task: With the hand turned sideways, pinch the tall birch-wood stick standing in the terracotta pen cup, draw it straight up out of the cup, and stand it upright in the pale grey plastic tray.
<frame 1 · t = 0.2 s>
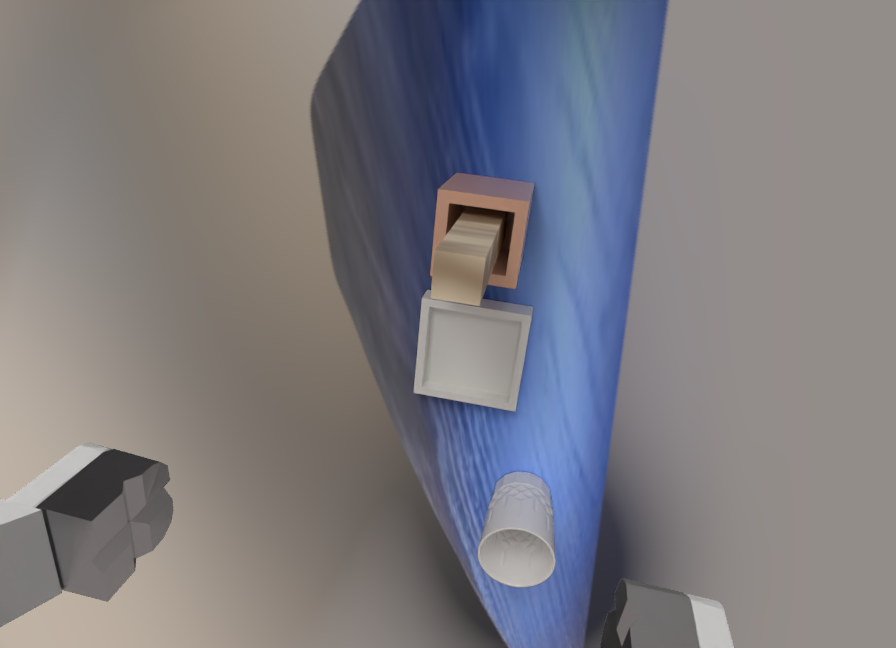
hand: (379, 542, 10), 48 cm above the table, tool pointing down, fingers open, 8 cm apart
grey tray: (473, 345, 61), on the table
birch stick: (489, 218, 55), point 1 cm above the table, touching terracotta cup
white cup: (522, 493, 68), on the table
terracotta cup: (490, 216, 56), on the table
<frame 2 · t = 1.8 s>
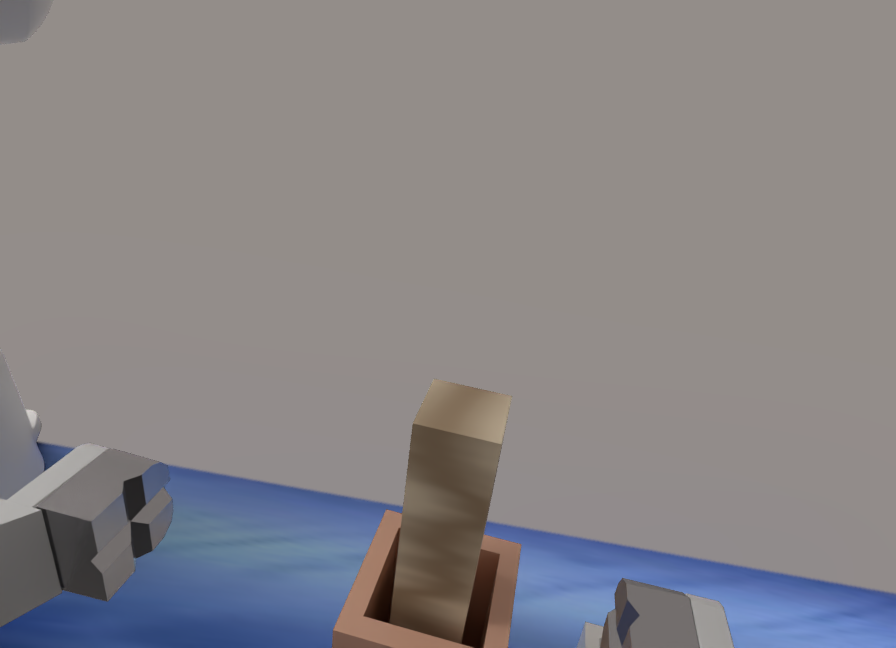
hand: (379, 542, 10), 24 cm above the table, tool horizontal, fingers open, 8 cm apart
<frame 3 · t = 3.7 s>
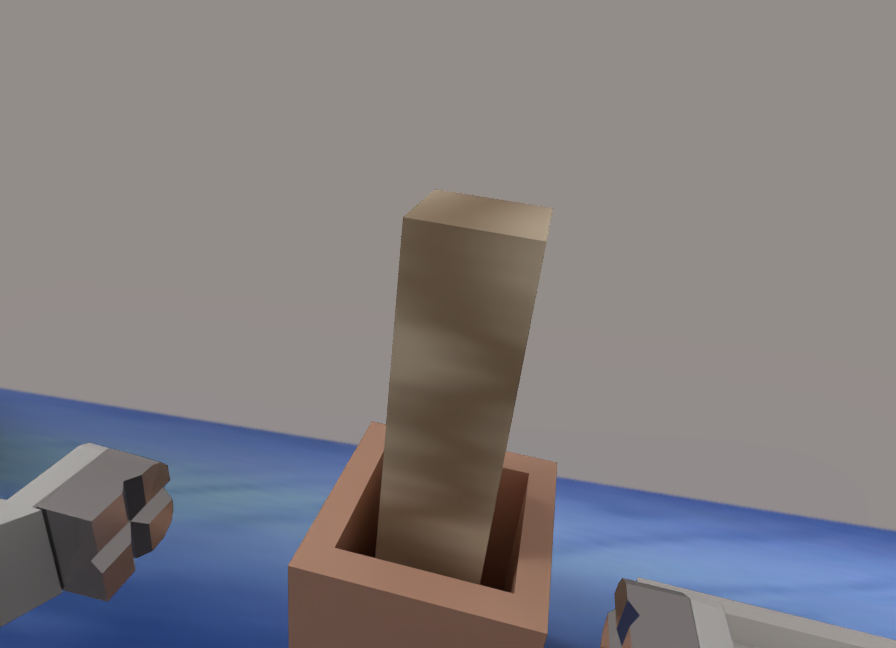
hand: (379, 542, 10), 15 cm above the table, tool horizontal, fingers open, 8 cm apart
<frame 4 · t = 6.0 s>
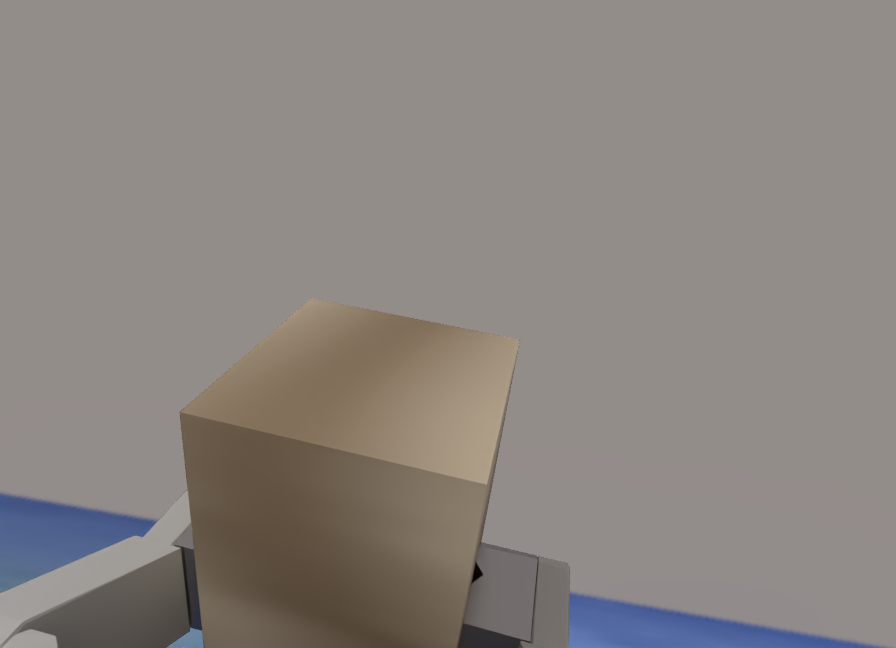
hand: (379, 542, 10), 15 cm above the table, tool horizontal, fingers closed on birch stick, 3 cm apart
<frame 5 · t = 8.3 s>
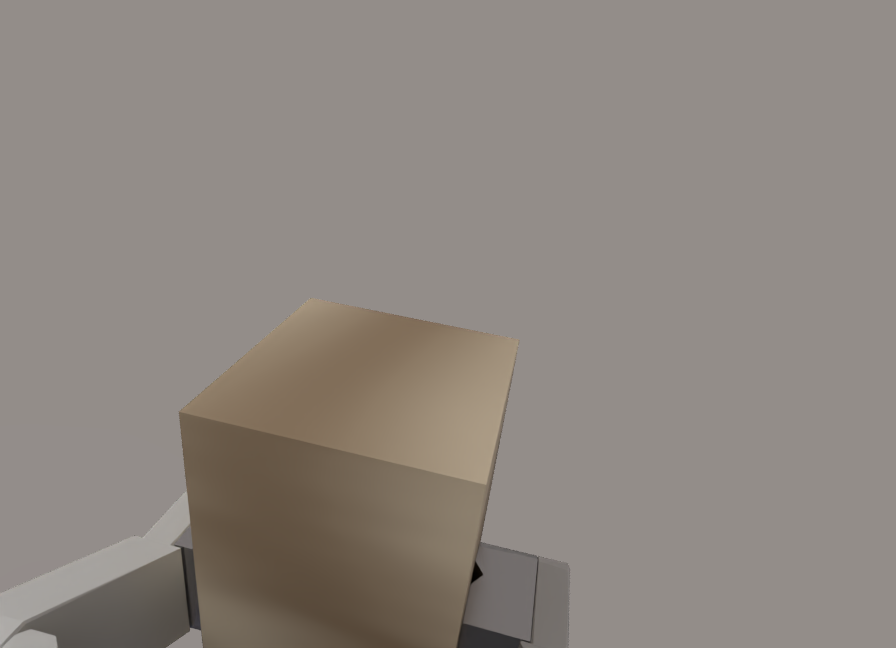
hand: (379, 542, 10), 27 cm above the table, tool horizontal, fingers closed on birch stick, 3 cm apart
when the fingers open (16 cm above the table, at t = 11.1 s): birch stick stays where it is, resting on grey tray.
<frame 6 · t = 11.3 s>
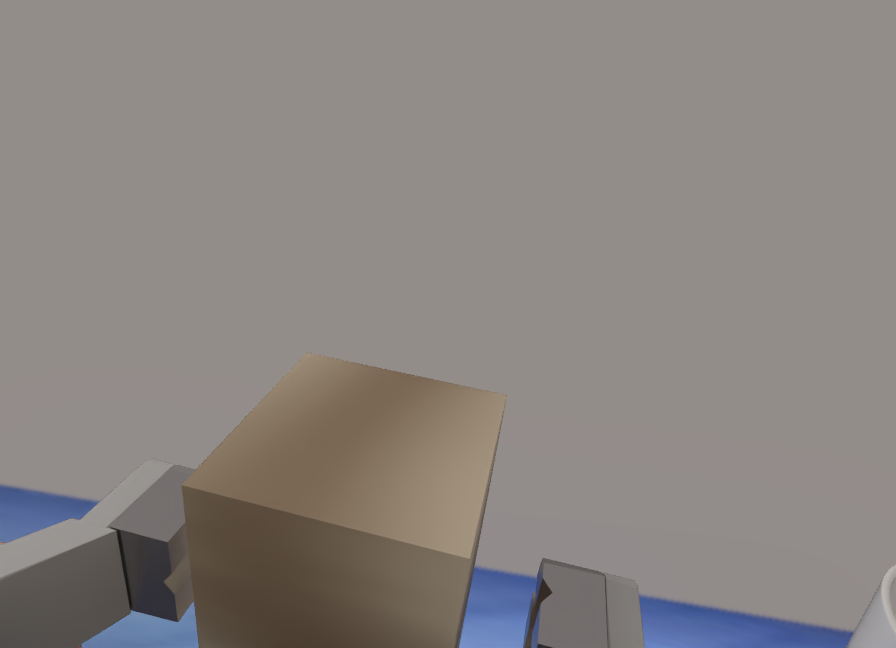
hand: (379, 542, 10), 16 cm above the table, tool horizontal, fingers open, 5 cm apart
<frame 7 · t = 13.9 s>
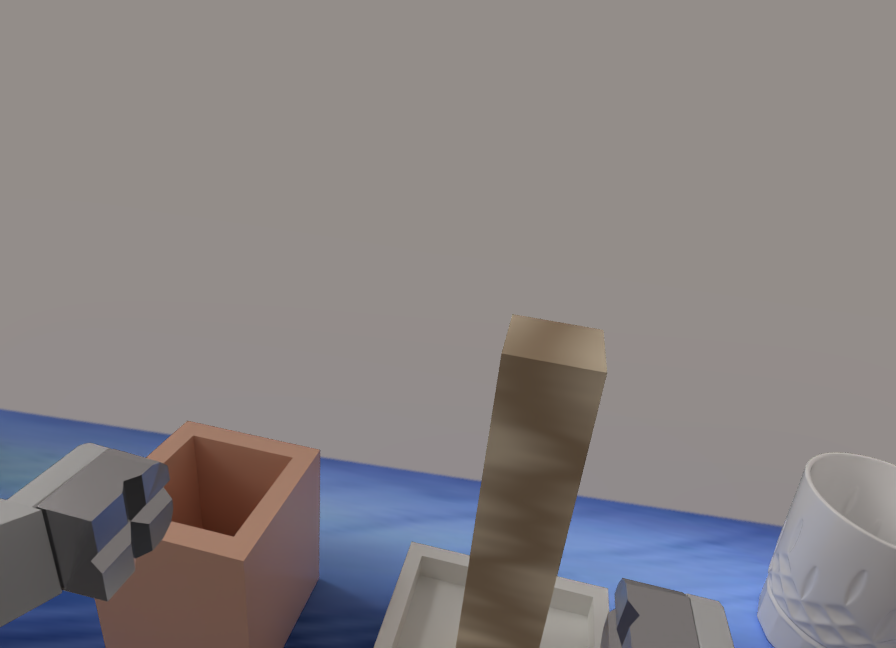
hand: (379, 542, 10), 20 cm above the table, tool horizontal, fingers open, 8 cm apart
white cup: (819, 640, 33), on the table
terracotta cup: (223, 616, 30), on the table
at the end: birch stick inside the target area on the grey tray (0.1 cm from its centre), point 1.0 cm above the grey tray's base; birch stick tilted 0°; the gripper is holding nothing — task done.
